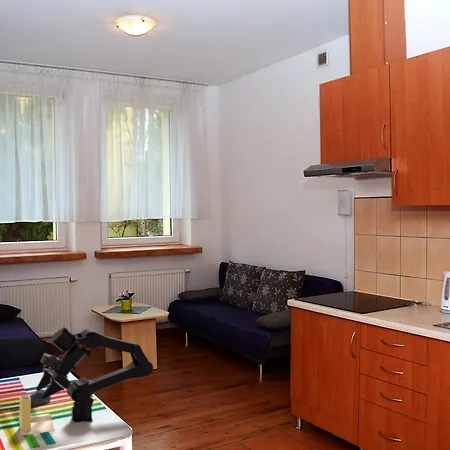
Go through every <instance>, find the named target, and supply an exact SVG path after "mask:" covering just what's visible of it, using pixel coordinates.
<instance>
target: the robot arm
mask: <svg viewBox="0 0 450 450" xmlns="http://www.w3.org/2000/svg"><path fill="white" fill-rule="evenodd" d="M49 341H50V343H52V344H53V345H54V346H55V347H56V348H58V350H59V351H61V352H65V351H66V352H65V353H64V354H61V355H59V356H58V357H57V356H56V355H53V354H49V353H47V352H44V353H43V354H42V357H41V359H40V360H39V361H40V363H41V365H42V367H43V368H42V373H43V374H42V376H41V378H40V381H39V383H38V384H37V386H36V387H35V390H36V391H39V390H41V389H42V390H44V388H45V387H46V389H45V390H44V391H45V392H44V393H43V395H42V396H41V398H42V399H45V398H47V397H49V396H53V395H55V394H57V393H60V392H61V391H65V390H66V394H67V395H68V396H69V397H70V399H71V400H72V401H73V402H72V403H73V405H72V407H71V420H72V421H73V423H74V424H75V423H81V422H82V423H83V422H84V423H89V422H93V421H94V420H93V410H92V409H93V408H92V407H93V404H94V398H93V397H92V395H94V394H95V393H96V392H98V391H101V390H103V389H106V388H109V387H111V386H114V385H117V384H119V383H122V382H124V381H127V380H130V379H140V378H146V377H149V376H151V375H152V373H153V371H154V365H153V364H152V362H150V361H149V359H148V357H147V356H146V354H145V353H144V351H143V349H142V347H141V345H140V344H139V343H137V342H134V341H133V342H131V341H127V340H123V339H120V338H119V339H118V338H115V337H110V336H106V335H104V334H102V333H100V332H98V331H96V330H94V329H90V328H86V329H84V330H82V331H81V332H77V333H74V334H73V333H71V332H70V331H69V330H68V329H67V328H66V327H65V326H63V327H62V328H61V329H59V330H57V331H56V332H54V334H53V335H52V336H51V338H50V340H49ZM77 343H78V344H77ZM85 346H86V347H87V348H86V347H85ZM90 348H93V349H95V348H96V349H98V348H99V349H101V348H107V349H112V350H115V351H119V352H124V353H129V355H130V358H131V360H132V361H131V362H130V363H128V365H127V366H125V367H123V368H120V369H117V370H114V371H112V372H108V373H107V374H104V375H101V376H99V377H96V378H93V379H91V380H90V379H87V378H86V377H84V376H83V377H82V376H81V378H79V379H75V380H73V382H71V381H70V380H69V376H68V375H69V374H70V373H71V372H72V370H75V369H77V367H76V366H77V365H78V364H79V363H80V361H81V360H82V359H83V358H84V357H85V356H87V357H88V358H91V357H92V349H90Z"/></svg>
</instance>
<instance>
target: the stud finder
mask: <svg viewBox="0 0 450 450" xmlns="http://www.w3.org/2000/svg"><path fill="white" fill-rule="evenodd" d="M29 395H30V394H22V395H19V417H20V423H19V429H21V431H22V432H23V431H28V430H31V416H32V412H31V411H32V405H31V398H30V396H29Z"/></svg>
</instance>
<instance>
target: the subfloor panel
mask: <svg viewBox="0 0 450 450" xmlns="http://www.w3.org/2000/svg"><path fill="white" fill-rule="evenodd" d="M18 421H19V424H20V416H19V417H18ZM19 429H20V428H19ZM55 431H56V430H55V427H54V423H53V420H52V415H51V413H42V414H36V415H31V430H28V431H23V432H22V431H21V429H20V430H19V432H20V436H27V435H33V434H40V433H47V432H49V433H50V432H55Z"/></svg>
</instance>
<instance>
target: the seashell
mask: <svg viewBox="0 0 450 450" xmlns="http://www.w3.org/2000/svg"><path fill="white" fill-rule="evenodd" d="M44 392H45V390H44V389H41V390H39V391H37V390H36V391H34V392H33V393H31V394H28V395H29V396H30V398H31V406H33V405H35V406H36V405H42V404H46V403H47V402H49V401H50V400H51V399H52V397H51V396H52V395H51V396H49V397H47V398H45V399H42V398H41V396H42V395H43V393H44Z"/></svg>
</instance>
